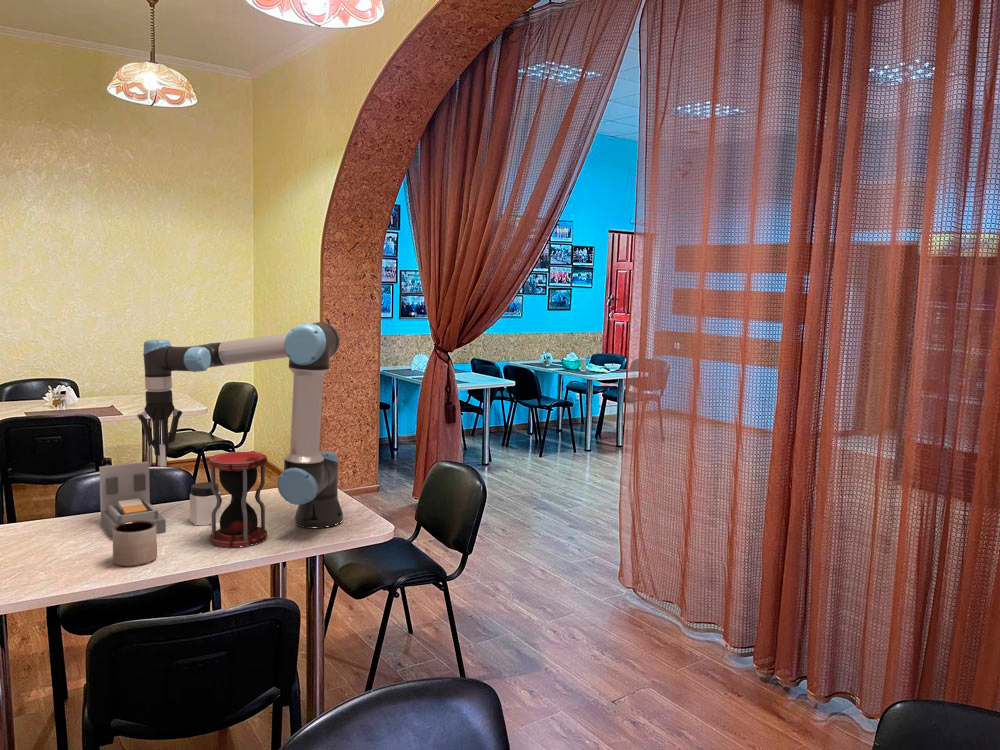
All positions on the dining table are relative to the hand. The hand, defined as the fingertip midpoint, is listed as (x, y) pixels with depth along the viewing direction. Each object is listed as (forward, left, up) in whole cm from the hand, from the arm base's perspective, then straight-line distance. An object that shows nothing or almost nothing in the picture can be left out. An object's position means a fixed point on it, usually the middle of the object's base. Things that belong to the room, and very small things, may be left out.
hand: (162, 465), depth 236 cm
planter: (-28, +14, -19) cm, 37 cm away
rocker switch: (+2, +8, -13) cm, 16 cm away
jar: (-4, -12, -19) cm, 23 cm away
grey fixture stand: (+2, +8, -19) cm, 21 cm away
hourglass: (-26, -15, -19) cm, 35 cm away
